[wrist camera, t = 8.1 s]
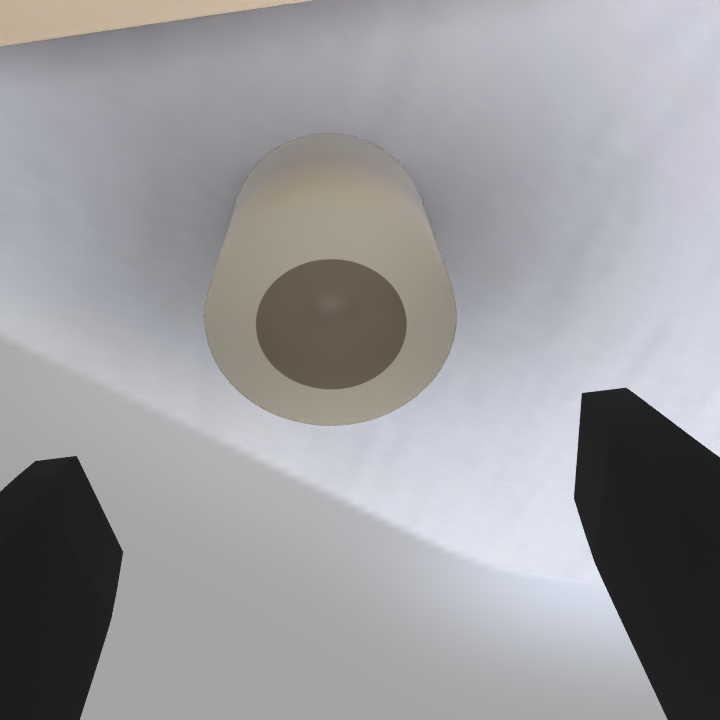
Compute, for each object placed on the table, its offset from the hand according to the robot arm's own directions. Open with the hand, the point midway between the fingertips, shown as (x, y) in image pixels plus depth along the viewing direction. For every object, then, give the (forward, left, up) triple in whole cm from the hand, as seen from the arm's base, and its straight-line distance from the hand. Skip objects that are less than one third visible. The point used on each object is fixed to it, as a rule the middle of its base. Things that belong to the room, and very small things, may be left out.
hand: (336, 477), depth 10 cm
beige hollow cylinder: (0, 0, -9) cm, 9 cm away
